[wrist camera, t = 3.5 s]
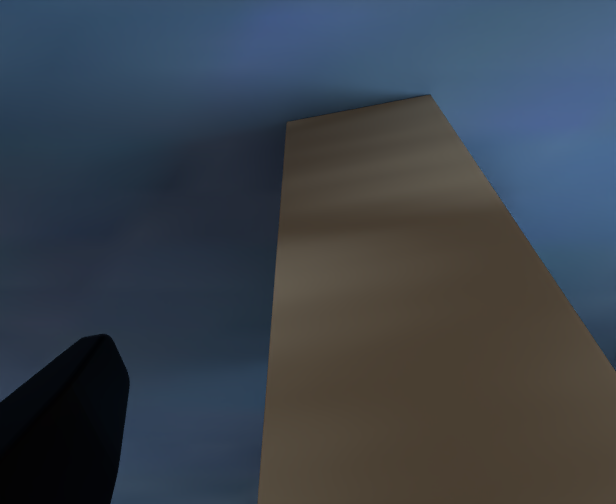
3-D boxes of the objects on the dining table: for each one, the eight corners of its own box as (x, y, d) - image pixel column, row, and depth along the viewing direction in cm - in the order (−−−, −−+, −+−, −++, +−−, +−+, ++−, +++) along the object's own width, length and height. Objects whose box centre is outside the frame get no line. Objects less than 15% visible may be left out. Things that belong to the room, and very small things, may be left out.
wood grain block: (336, 350, 12) (392, 1098, 5) (286, 122, 10) (224, 913, 2) (451, 332, 12) (712, 1087, 4) (430, 94, 10) (946, 865, 2)
